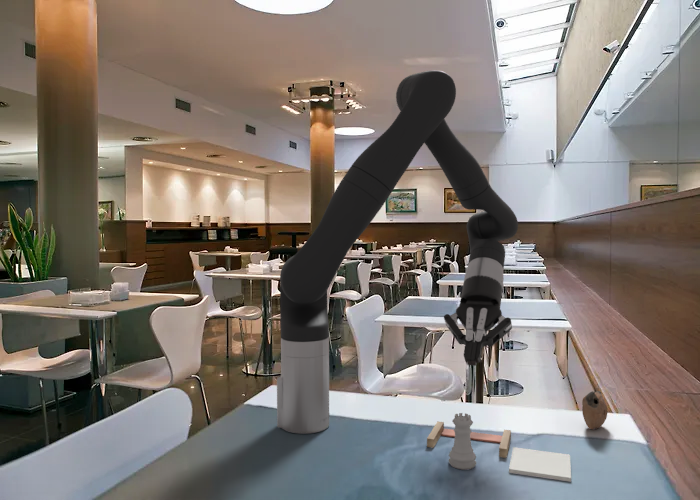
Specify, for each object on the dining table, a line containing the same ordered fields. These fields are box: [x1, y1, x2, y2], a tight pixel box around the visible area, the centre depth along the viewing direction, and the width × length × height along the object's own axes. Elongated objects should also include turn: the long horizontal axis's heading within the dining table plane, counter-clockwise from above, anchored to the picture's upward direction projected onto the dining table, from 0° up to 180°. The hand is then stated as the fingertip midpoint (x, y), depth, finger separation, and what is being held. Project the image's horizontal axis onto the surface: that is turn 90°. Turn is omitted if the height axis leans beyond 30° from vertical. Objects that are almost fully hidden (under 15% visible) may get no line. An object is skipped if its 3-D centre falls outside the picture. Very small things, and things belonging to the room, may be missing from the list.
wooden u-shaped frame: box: [426, 421, 512, 459], centre depth 97 cm, size 13×9×2 cm
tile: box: [508, 446, 572, 483], centre depth 88 cm, size 9×9×1 cm
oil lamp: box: [581, 390, 608, 430], centre depth 103 cm, size 9×4×8 cm, turn 147°
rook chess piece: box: [448, 412, 477, 471], centre depth 88 cm, size 4×4×8 cm
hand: (471, 363), depth 97 cm, fingers closed
